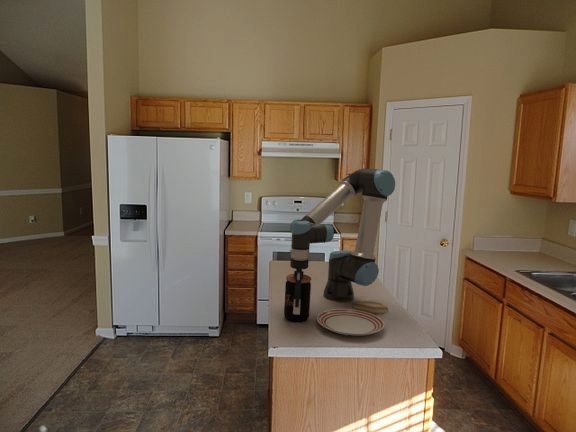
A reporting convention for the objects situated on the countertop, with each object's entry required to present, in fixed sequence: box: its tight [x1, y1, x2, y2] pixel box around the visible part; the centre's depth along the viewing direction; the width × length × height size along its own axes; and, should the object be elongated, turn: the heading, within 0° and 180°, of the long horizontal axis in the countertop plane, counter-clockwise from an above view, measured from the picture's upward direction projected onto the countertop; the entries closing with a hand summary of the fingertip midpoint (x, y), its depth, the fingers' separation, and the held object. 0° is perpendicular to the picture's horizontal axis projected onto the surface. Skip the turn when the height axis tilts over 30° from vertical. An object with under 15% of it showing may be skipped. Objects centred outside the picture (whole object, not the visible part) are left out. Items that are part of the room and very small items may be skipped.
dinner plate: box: [316, 308, 385, 337], centre depth 164 cm, size 27×27×3 cm
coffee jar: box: [283, 273, 312, 323], centre depth 169 cm, size 11×11×18 cm
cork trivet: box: [352, 300, 389, 315], centre depth 187 cm, size 16×16×1 cm
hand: (296, 309), depth 170 cm, fingers closed on coffee jar, 11 cm apart
